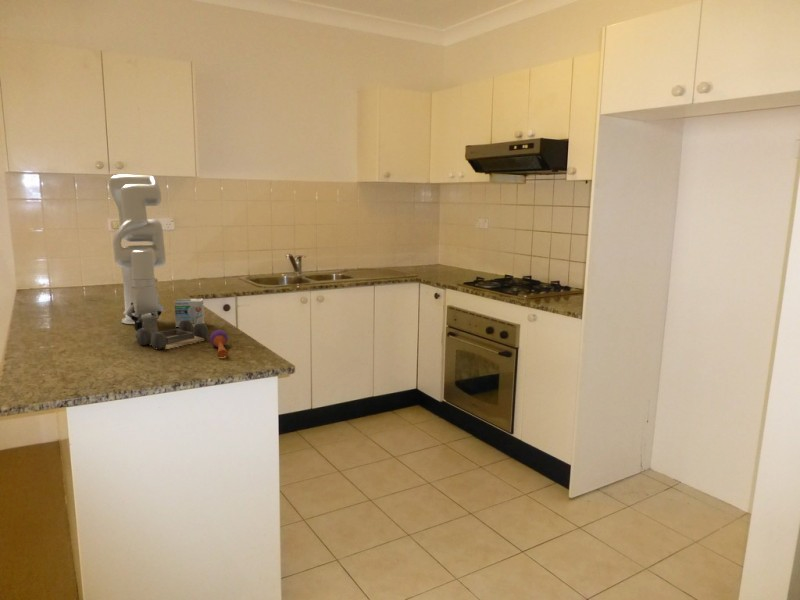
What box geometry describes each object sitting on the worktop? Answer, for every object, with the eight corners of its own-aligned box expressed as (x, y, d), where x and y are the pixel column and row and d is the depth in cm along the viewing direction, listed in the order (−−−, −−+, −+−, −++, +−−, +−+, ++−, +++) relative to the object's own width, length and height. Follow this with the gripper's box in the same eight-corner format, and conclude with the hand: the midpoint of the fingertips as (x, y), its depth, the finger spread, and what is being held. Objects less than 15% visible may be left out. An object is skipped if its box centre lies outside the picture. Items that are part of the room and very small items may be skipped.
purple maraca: (211, 348, 184) (207, 330, 202) (215, 365, 186) (211, 345, 204) (230, 343, 186) (224, 326, 204) (234, 360, 188) (228, 341, 206)
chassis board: (135, 343, 204) (134, 327, 203) (182, 334, 219) (181, 318, 218) (161, 351, 195) (160, 333, 193) (208, 340, 210) (208, 324, 209)
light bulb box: (175, 328, 228) (173, 301, 227) (177, 324, 235) (175, 298, 233) (203, 327, 231) (202, 300, 229) (204, 323, 238) (203, 297, 236)
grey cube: (135, 332, 215) (134, 316, 214) (149, 329, 220) (148, 314, 219) (144, 334, 212) (143, 318, 211) (157, 331, 217) (156, 316, 216)
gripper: (159, 279, 221) (161, 324, 225) (115, 284, 208) (119, 333, 211) (170, 281, 217) (173, 327, 221) (127, 287, 203) (130, 336, 207)
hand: (146, 330), depth 216 cm, fingers closed on grey cube, 5 cm apart
